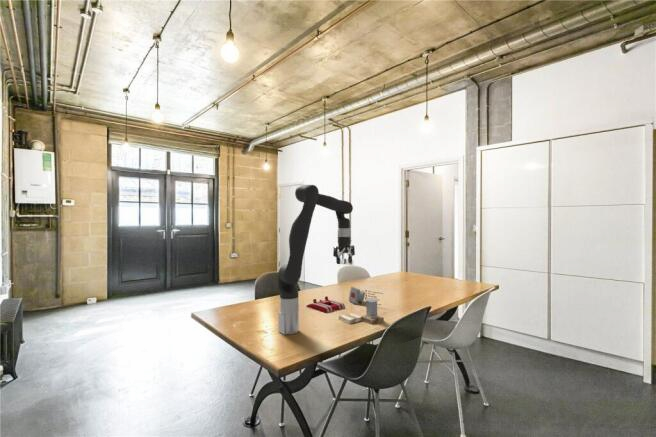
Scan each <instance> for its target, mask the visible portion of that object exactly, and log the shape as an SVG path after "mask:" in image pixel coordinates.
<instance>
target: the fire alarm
mask: <svg viewBox="0 0 656 437" xmlns="http://www.w3.org/2000/svg"><path fill="white" fill-rule="evenodd" d="M312 302H313V303H309V304H307V305H305V308H308V309H311V310H315V311H319V312H322V313H325V314H329V313H331V312H335V311H340V310H343V309H345V308H346V306H345V304H344V303H343V302H341V301H336V300H333V299H329V297H328V296H324V300H322V299H319V301H317V299H316V298H314V299H313V300H312Z"/></svg>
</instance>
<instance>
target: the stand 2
mask: <svg viewBox="0 0 656 437" xmlns="http://www.w3.org/2000/svg"><path fill="white" fill-rule="evenodd" d="M360 317H362V321H361V322H363V323H364V322H365V323H366V324H369V325H375V324H379V323H382V322H385V320H384V319H385V318H384V317H382V316H380V315H378V318H373V319H370V318H368V317H365V315H361V316H360Z"/></svg>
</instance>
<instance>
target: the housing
mask: <svg viewBox="0 0 656 437" xmlns="http://www.w3.org/2000/svg"><path fill="white" fill-rule="evenodd" d="M364 300H366V301H365V302H366V303H365V304H366V306H365V307H366V310H365V311H366V312H365V313H366V314H364V316H365V317H368V318H370V319H373V318H378V316H379V315H378V305H377V304H378V302H379V299H378V298H375V297H374V296H373V297H372V296H371V297H367V298H366V299H365V298H364Z"/></svg>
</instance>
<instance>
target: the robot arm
mask: <svg viewBox="0 0 656 437" xmlns="http://www.w3.org/2000/svg"><path fill="white" fill-rule="evenodd" d="M294 194H295V198H296V200H297V201H299V202H300V203H303V205H302V209H301V211H300V212H299V214H298V216H296V218H295V219H294V221H293V223H292V225H291V228H290V232H289V237H288V244H289V247H288V248H289V257H288V261H287V264H283V265H281V266H280V267H279V269H278V273H277V282H278V283H277V285H278V286H277V288H278V292H279V312H278V315H277V316H278V332H279V333H281V334H282V335H283V336H285V335H294V334H297V333H299V327H300V326H299V324H300V322H299V317H300V316H299V313H300V312H299V310H300V309H299V307H300V306H299V291H298V289H297V286H296V284H297V283H298V282H299V281H300V279H301V276H302V270H303V268H302V267H303V260H304V255H305V250H306V246H307V241H308V238H309V232H310V229H311V228H310V227H311V223H312V219H313V215H314V212H315V210H316V207H317V206H319V207H322V208H326V209H328V210H330V211H335V216H336V219H337V244H338V245H337V246H336V245H335V246H333V251H332V252H333V255H332V256H333V257H334V258H335V260H336V262H335V263H336V264H337V265H341V258H340V257H341V256H342V255H343V254H347V257H348V260H347V262H348V264H352V263H353V256H355V255H356V252H355V251H356V250H355V245H351V220H350V218H349V217H346V216H345V215H348V214H351V213H353V210H354V207H353V204H352V203H351V202H350V201H346V200H343V199H342V200H341V199H338V198H336V197H333V196H330V195H326V194H322V193H320V192H319V188H318V187H317V185H315V184H300V185H299V186H297V187H296V189H295V192H294Z"/></svg>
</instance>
